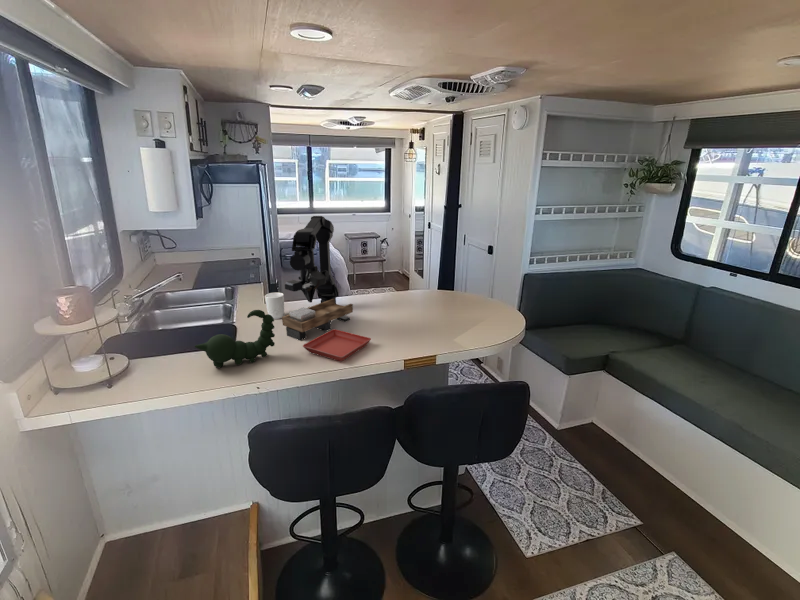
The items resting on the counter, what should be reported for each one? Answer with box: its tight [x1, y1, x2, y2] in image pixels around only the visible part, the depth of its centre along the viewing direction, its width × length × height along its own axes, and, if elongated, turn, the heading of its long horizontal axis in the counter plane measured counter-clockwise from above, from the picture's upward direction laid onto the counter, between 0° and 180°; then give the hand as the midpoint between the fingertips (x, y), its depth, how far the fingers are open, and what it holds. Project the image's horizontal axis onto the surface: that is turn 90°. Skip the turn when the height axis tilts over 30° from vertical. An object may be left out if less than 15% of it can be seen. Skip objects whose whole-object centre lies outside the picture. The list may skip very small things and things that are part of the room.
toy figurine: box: [194, 309, 276, 369], centre depth 141 cm, size 9×19×25 cm
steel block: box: [288, 306, 316, 322], centre depth 164 cm, size 7×7×4 cm
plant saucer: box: [302, 328, 372, 362], centre depth 153 cm, size 18×18×3 cm
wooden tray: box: [281, 299, 354, 332], centre depth 171 cm, size 27×13×4 cm, turn 142°
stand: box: [285, 315, 351, 341], centre depth 172 cm, size 27×10×4 cm, turn 142°
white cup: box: [264, 292, 285, 320], centre depth 184 cm, size 8×8×10 cm
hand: (310, 302), depth 167 cm, fingers closed
